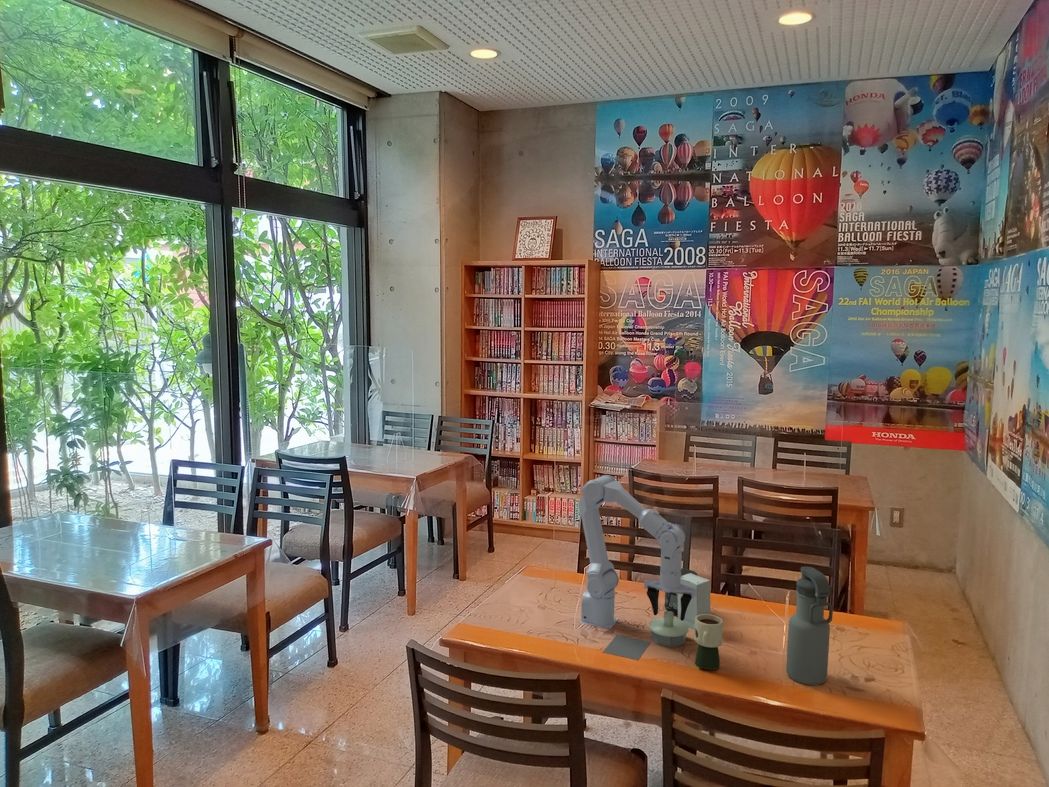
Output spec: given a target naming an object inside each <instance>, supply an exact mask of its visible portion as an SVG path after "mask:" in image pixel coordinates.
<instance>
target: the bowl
mask: <svg viewBox="0 0 1049 787" xmlns="http://www.w3.org/2000/svg"><path fill="white" fill-rule="evenodd" d="M650 631H651V630H650ZM650 636H651V638H652V641H653V642H654V643H656V644H658V645H660V646H662V647H663V646H664V647H668V648H669V647H670V648H671V647H673V648H674V647H676V648H677V647H680V646H682V645H684V644H685V641H686V639H687V634H685V635H683V636H678V637H667V636H661V635H658V634H655V633H653V632H652V631H651V634H650Z"/></svg>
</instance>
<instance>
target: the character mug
mask: <svg viewBox="0 0 1049 787" xmlns="http://www.w3.org/2000/svg"><path fill="white" fill-rule="evenodd" d="M723 629H724V620H723V618H721V617H720V616H718V615H714V614H711V613H710V614H701V615H697V616H696V617H695V630H694V635H693V636H694V641H695V643H697V644H698V646H697V650H696V653H695V660H694V661H695V662H694V664H695V665H696V667H697V668H699V669H704V670H717V669H719V668H720V665H721V664H720V651H719V647H721V646H722V644H723V635H724V633H723V632H724V630H723Z"/></svg>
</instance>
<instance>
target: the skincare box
mask: <svg viewBox="0 0 1049 787" xmlns="http://www.w3.org/2000/svg"><path fill="white" fill-rule="evenodd" d="M681 584H682V585H686V586H689V587H692V588H696V589H697V595H696V597H692V599H691V601H690V603H689V605H688V607H687V610H686V614H685V619H684V620H683V622H685V623H686V624H687V625H688V629H690V630H692V631H695V617H696V616H697V615H701V614H711V580H710V579H709V578H708V579H707V578H705V577H702V576H699V575H698V576H696V575H694V574H691V573H690V574H686V575H683V576H681ZM682 596H683V594H678V615H677V619H678V620H681V619H680V616H681V597H682Z"/></svg>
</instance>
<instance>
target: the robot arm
mask: <svg viewBox="0 0 1049 787" xmlns="http://www.w3.org/2000/svg"><path fill="white" fill-rule="evenodd" d="M581 493H582V494H581V496H580V501H579V510H580V511H579V512H580V516H581V521H582V527H583V528H582V529H583V533H584V537H585V544H586V547H587V548H586V549H587V552H588V553H587V555H588V559H589V567H588V569H587V572H586V576H587V580H586V585H585V586H586V590H585V591H584V593H583V594H582V598H581V612H580V613H581V615H580V616H581V618H580V619H581V620H580V624H585V625H589V626H593V627H600V628H603V629H608V630H610V629H611V628H613V626H614V625H615V624H616V623H617V621H618V620H619V618H618V617H615V593H616V592H615V590H616V588H617V586H618V585H619V582H620V579H619V575H618V573H617V572H616V570H615V566H614V564H613V563H612V562H611V561H610V560H609V556H608V551H607V545H606V542H605V536H604V530H603V526H602V519H601V514H600V510H599V509H600V507H601V506H602V505H603V503H617V504H618V505H620V506H621V507H622V508H623V509H625V510H627V511H628V512H629V513H630V514H631V515H633V516H635V518H637V519H638V524H639V526H640V527H642V528H643V529H644V530H645V531H646V532H648V533H649V534H650V535H651V536H652V537H654V538H655V540H657V543H658V544H657V545H658V546H659V547H660V566H659V567H660V568H659V570H660V571H659V572H660V573H659V580H652V579H651V580H650V579H645V580H644V583H643V589H646V595H647V597H648V600H649V601H650V605H651V607H652V611H653V612H652V613H653V615H654V616H657V615H658V614H659V597H660V596H659V595H660V591H661V592H662V591H663V592H664V593H665V592H668V593H670V592H672V593H678V594H683V596H682V597H681V616H680V619H681V621H683V620H684V619H685V614H686V610H687V607H688V605H689V603H690V601H691V599H692V597H696V595H697V589H696V588H692V587H689V586H686V585H682V584H681V568H682V558H683V555H682V551H683V544H684V543H685V541H686V533H685V531H684V530H683V529H682V528H681V526H679V525H675V524H673V523H672V522H669V521H667V520H666V519H665V518H664V517H663V516H661V515H660V512H659V511H658V510H654V509H652V508H649V509H648V508H645V506H643V505H642V504H641V503H640V502H639V501H638V500H637V499H636V498H635V497H633V495H631V494H630V493H629V492H628V491H627V490H626V489H625V488H624V487H623V486H622V484H621V482H620V481H618V480H617V479H615V478H614V477H613V476H612V475H608V474H603V475H601V476H600V477H596V478H595V479H591V480H588V481H587V482H586V483H585V484H584V485H583V486H582V487H581Z"/></svg>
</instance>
